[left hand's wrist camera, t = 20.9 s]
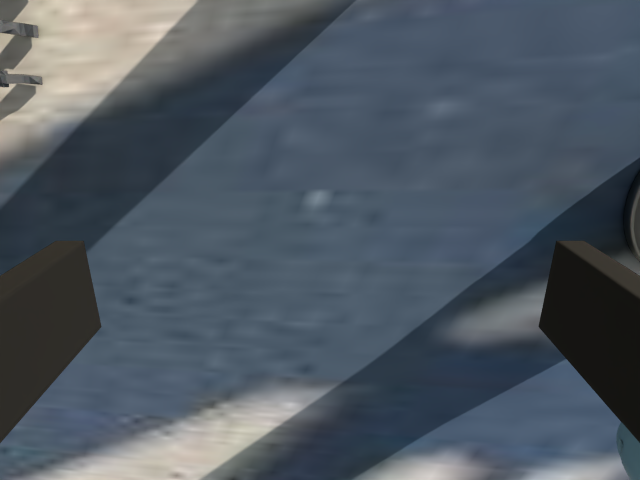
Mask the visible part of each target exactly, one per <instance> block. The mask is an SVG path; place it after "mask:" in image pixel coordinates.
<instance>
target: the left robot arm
mask: <svg viewBox="0 0 640 480" xmlns="http://www.w3.org/2000/svg"><path fill="white" fill-rule="evenodd" d="M624 232H625V236H626V240H627V243H628V245H629V247H630V249H631V251H632V253H633V254H634V256H635V257H636V258H637V259H638V260H639V261H640V172H639V174H638V175H637V177H636V179H635V181H634V183H633V185H632V187H631V189H630V192H629V194H628V197H627V201H626V205H625V210H624ZM100 328H101V323H100V318H99V313H98V308H97V303H96V298H95V294H94V289H93V284H92V279H91V274H90V269H89V265H88V260H87V255H86V250H85V245H84V241H55V242H54V243H52V244H50V245H49V246H47V247H46V248H44V249H42V250H41V251H39V252H38V253H36V254H34V255H33V256H31V257H30V258H28V259H26V260H25V261H23V262H22V263H20V264H18V265H17V266H15V267H14V268H12V269H11V270H9V271H7V272H6V273H4V274H3V275H1V276H0V443H1V442H2V440H3V439H4V438H5V437H6V436H7V435H8V434H9V432H10V431H11V430H12V429H13V428H14V427H15V425H16V424H17V423H18V422H19V421H20V420H21V419H22V417H23V416H24V415H25V414H26V413H27V412H28V411H29V409H30V408H31V407H32V406H33V405H34V404H35V402H36V401H37V400H38V399H39V398H40V397H41V396H42V394H43V393H44V392H45V391H46V390H47V389H48V388H49V386H50V385H51V384H52V383H53V382H54V381H55V379H56V378H57V377H58V376H59V375H60V374H61V373H62V371H63V370H64V369H65V368H66V367H67V366H68V365H69V363H70V362H71V361H72V360H73V359H74V358H75V356H76V355H77V354H78V353H79V352H80V351H81V350H82V348H83V347H84V346H85V345H86V344H87V343H88V342H89V340H90V339H91V338H92V337H93V336H94V335H95V333H96V332H97V331H98V330H99V329H100ZM539 328H540V329H541V330H542V331H543V332H544V333H545V335H546V336H547V337H548V338H549V339H550V340H551V342H552V343H553V344H554V345H555V346H556V347H557V348H558V350H559V351H560V352H561V353H562V354H563V355H564V356H565V358H566V359H567V360H568V361H569V362H570V363H571V365H572V366H573V367H574V368H575V369H576V370H577V371H578V373H579V374H580V375H581V376H582V377H583V378H584V379H585V381H586V382H587V383H588V384H589V385H590V386H591V388H592V389H593V390H594V391H595V392H596V393H597V394H598V396H599V397H600V398H601V399H602V400H603V401H604V402H605V404H606V405H607V406H608V407H609V408H610V409H611V411H612V412H613V413H614V414H615V415H616V416H617V417H618V419H619V420H620V421H621V424H620V425H619V428H618V431H617V436H616V442H617V449H618V452H619V454H620V457H621V460H622V464H623V466H624V468H625V470H626V472H627V474H628V476H629V478H630V480H640V276H639V275H637V274H636V273H634V272H633V271H631V270H629V269H628V268H626V267H625V266H623V265H622V264H620V263H618V262H617V261H615V260H614V259H612V258H610V257H609V256H607V255H606V254H604V253H602V252H601V251H599V250H598V249H596V248H594V247H593V246H591V245H590V244H588V243H586V242H585V241H556V245H555V250H554V255H553V260H552V265H551V269H550V274H549V279H548V284H547V289H546V294H545V298H544V303H543V308H542V313H541V318H540V323H539Z"/></svg>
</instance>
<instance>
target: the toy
mask: <svg viewBox="0 0 640 480" xmlns="http://www.w3.org/2000/svg"><path fill="white" fill-rule="evenodd" d="M0 33H7V34H14V35H21V36H28V37H35V38H38V26H36V25H30V24H23V23H17V22H9V21H3V20H0ZM14 83H28V84H41V85H42V77H38V76H31V75H24V74H8V73H7V71H4V70H0V87H9V84H14Z"/></svg>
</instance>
